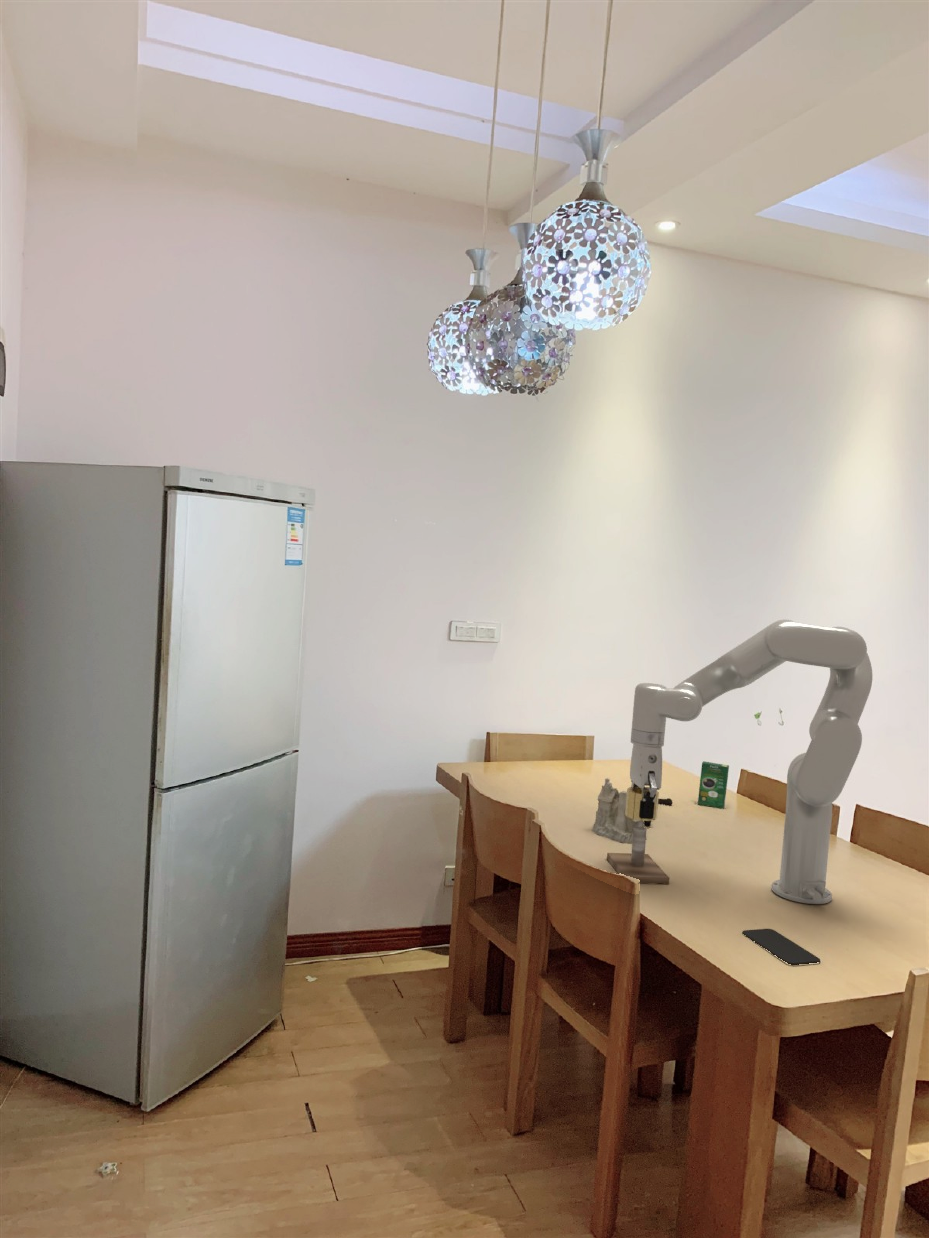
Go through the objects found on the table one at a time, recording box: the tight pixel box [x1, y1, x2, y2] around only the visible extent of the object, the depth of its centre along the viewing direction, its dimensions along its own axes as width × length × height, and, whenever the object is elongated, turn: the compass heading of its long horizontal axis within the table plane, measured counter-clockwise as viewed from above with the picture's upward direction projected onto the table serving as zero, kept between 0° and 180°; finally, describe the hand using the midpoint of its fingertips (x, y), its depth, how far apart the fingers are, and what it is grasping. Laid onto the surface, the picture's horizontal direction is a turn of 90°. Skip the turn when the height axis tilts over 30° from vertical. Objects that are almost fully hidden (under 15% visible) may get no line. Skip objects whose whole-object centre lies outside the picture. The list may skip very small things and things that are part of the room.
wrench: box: [644, 798, 673, 827], centre depth 257 cm, size 5×5×30 cm
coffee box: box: [697, 760, 730, 809], centre depth 271 cm, size 8×3×13 cm, turn 67°
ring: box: [625, 786, 660, 822], centre depth 207 cm, size 7×7×6 cm
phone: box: [741, 928, 821, 965], centre depth 170 cm, size 7×1×15 cm
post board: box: [606, 827, 670, 885], centre depth 208 cm, size 16×10×10 cm, turn 6°
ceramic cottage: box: [591, 777, 647, 845], centre depth 238 cm, size 16×16×15 cm
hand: (641, 812), depth 207 cm, fingers closed on ring, 7 cm apart
